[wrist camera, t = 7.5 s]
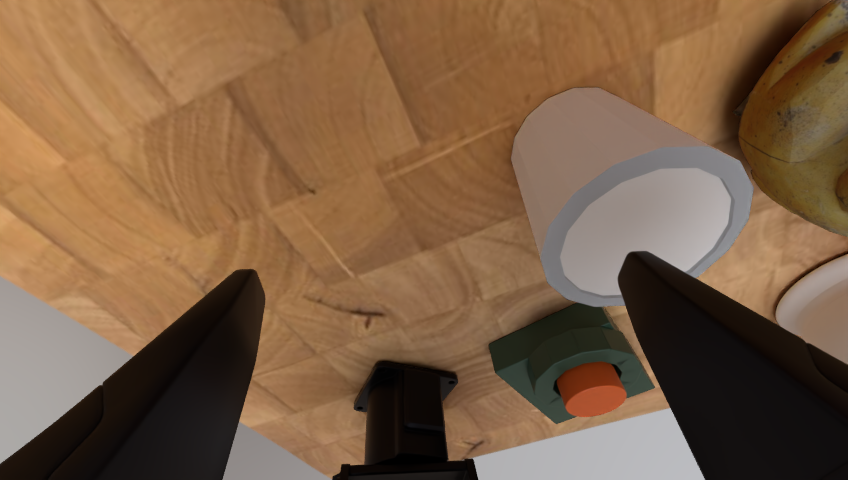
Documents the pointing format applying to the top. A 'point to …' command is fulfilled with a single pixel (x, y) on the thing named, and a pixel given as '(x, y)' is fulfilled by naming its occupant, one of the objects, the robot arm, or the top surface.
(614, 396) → the button
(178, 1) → the top surface
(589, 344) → the button base
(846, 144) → the lucky beckoning cat
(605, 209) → the white cup
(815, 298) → the jar
